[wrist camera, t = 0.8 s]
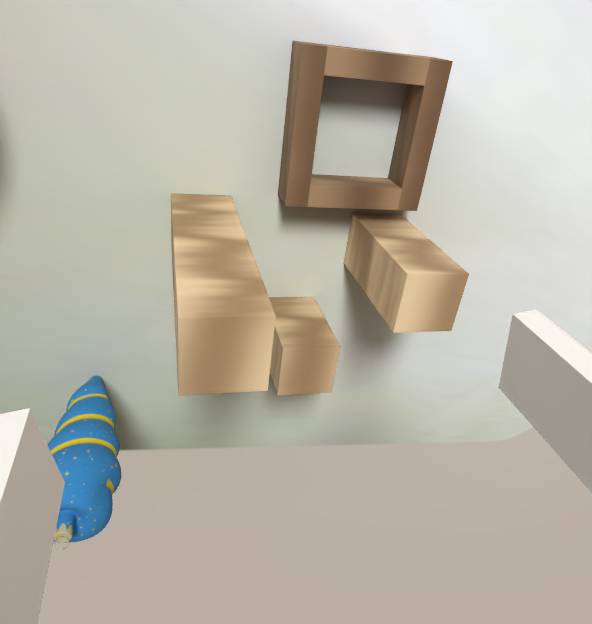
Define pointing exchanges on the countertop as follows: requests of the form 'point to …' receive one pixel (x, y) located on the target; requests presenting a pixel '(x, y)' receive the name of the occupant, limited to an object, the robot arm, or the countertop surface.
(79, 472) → the ornament
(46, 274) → the countertop surface
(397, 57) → the collar block
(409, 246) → the medium pin
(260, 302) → the long pin
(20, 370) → the countertop surface
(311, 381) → the short pin
